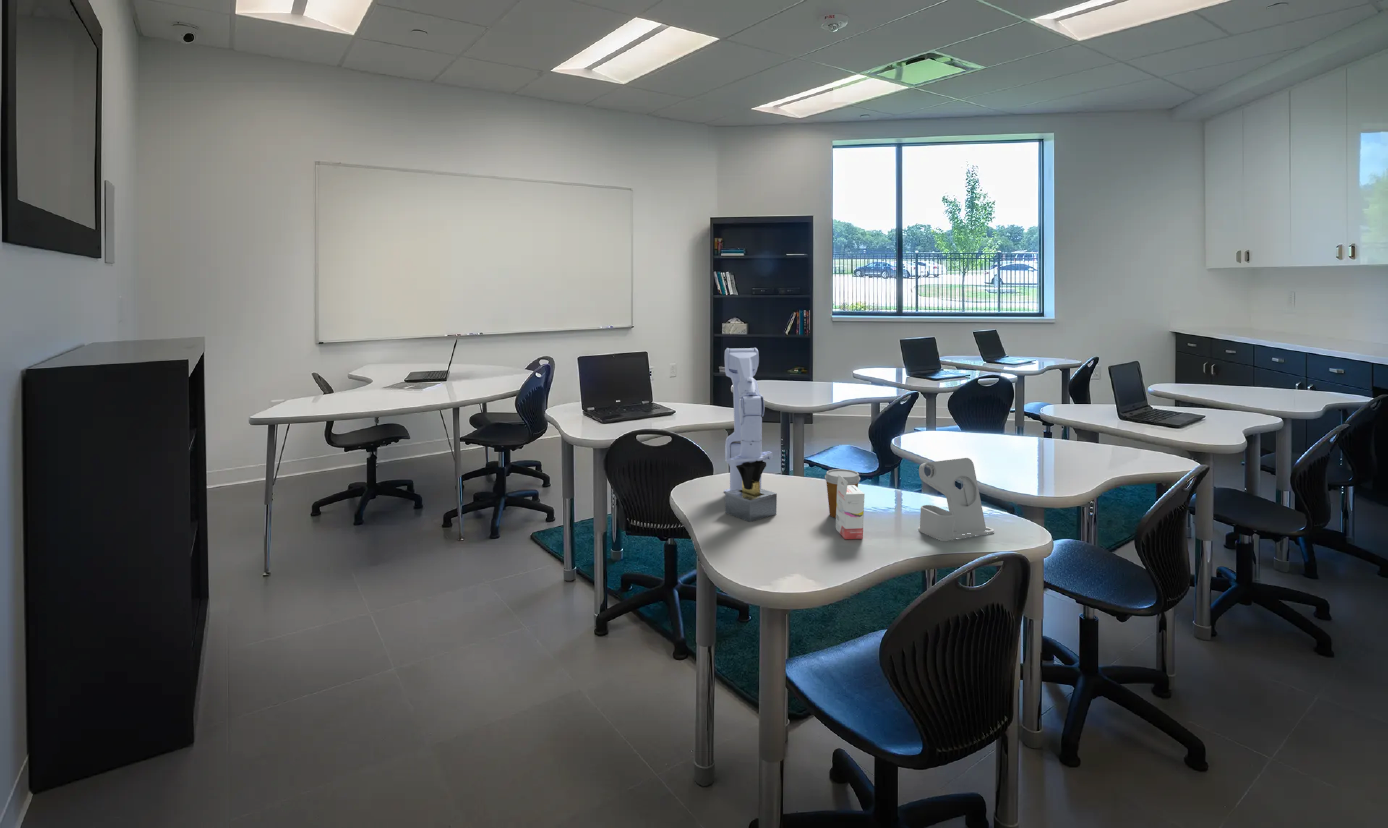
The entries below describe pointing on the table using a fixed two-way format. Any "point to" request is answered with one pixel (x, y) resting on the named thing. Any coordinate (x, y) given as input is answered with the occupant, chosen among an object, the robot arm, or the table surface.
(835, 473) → the disposable coffee cup
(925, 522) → the grey mounting bracket
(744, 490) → the block
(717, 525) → the table surface
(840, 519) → the ink cartridge box
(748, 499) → the box
